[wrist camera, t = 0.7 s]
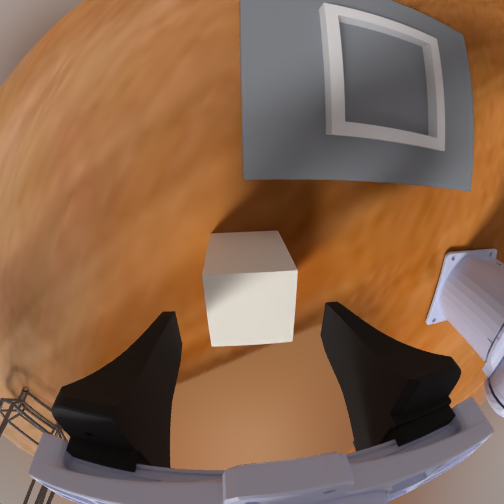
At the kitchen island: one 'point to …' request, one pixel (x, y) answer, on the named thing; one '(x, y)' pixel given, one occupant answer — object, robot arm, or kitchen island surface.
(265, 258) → the cream block
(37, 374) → the kitchen island surface
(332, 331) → the robot arm
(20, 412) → the geometric lantern
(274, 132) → the display plinth
